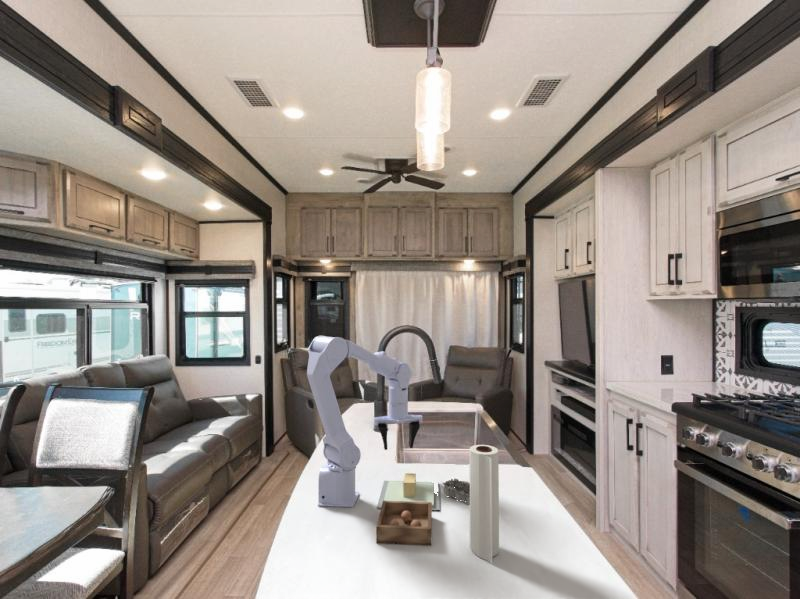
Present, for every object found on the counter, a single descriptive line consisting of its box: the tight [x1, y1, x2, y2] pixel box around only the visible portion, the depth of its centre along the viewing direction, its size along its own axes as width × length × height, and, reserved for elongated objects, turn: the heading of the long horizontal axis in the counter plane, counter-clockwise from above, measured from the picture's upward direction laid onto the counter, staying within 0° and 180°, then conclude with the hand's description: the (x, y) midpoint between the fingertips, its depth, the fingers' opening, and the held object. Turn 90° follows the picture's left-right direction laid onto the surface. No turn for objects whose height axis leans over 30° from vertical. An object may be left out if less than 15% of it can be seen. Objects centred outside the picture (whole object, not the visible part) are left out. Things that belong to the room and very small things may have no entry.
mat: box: [376, 480, 441, 510], centre depth 111 cm, size 16×16×1 cm
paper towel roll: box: [469, 444, 500, 564], centre depth 86 cm, size 7×6×21 cm
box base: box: [375, 501, 433, 547], centre depth 94 cm, size 12×12×4 cm
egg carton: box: [442, 478, 470, 506], centre depth 111 cm, size 11×8×4 cm
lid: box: [384, 472, 434, 508], centre depth 111 cm, size 13×13×5 cm
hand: (398, 447), depth 122 cm, fingers open, 7 cm apart
